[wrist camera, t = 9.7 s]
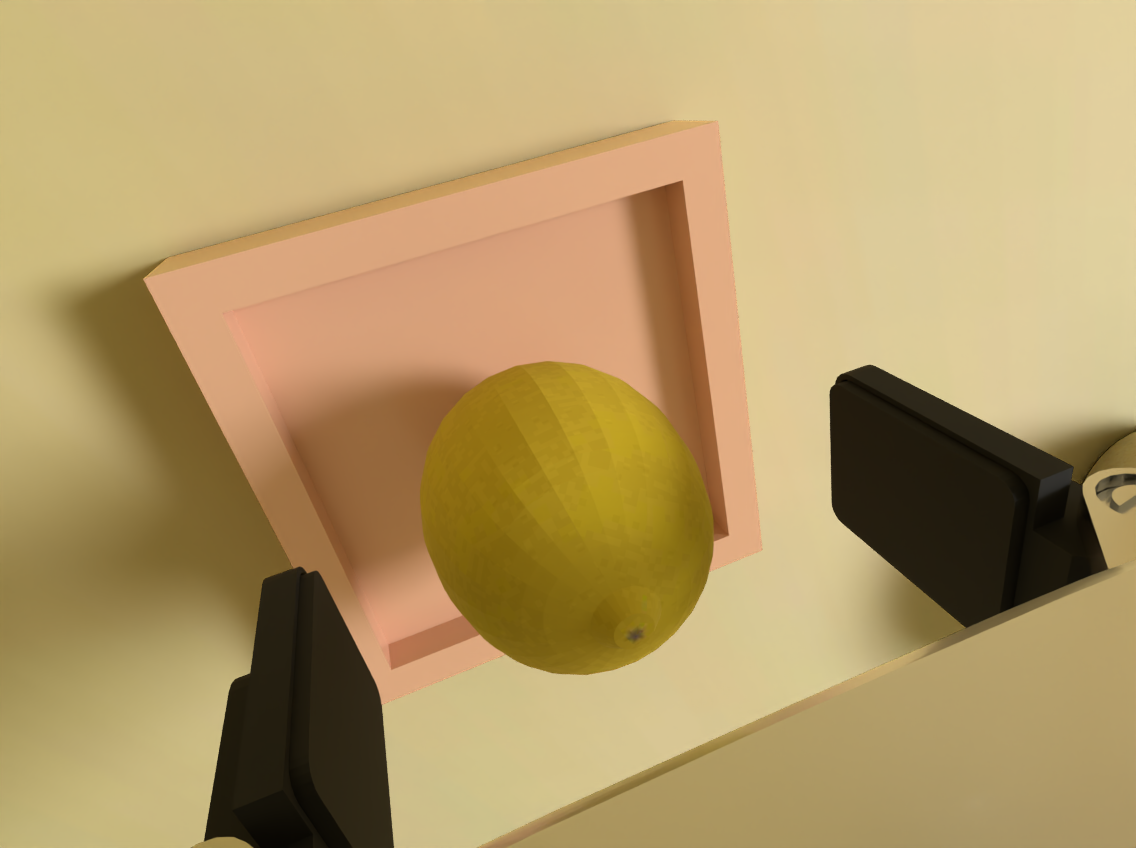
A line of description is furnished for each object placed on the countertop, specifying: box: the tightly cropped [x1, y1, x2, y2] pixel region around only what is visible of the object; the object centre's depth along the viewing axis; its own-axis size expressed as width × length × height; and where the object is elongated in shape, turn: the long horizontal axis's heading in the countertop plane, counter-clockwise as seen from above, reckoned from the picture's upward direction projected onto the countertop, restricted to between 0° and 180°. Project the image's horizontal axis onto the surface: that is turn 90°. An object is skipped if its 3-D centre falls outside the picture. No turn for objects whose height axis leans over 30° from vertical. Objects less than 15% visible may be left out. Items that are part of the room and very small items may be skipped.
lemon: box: [420, 361, 714, 675], centre depth 14 cm, size 6×6×8 cm
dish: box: [143, 120, 762, 705], centre depth 18 cm, size 12×12×2 cm
